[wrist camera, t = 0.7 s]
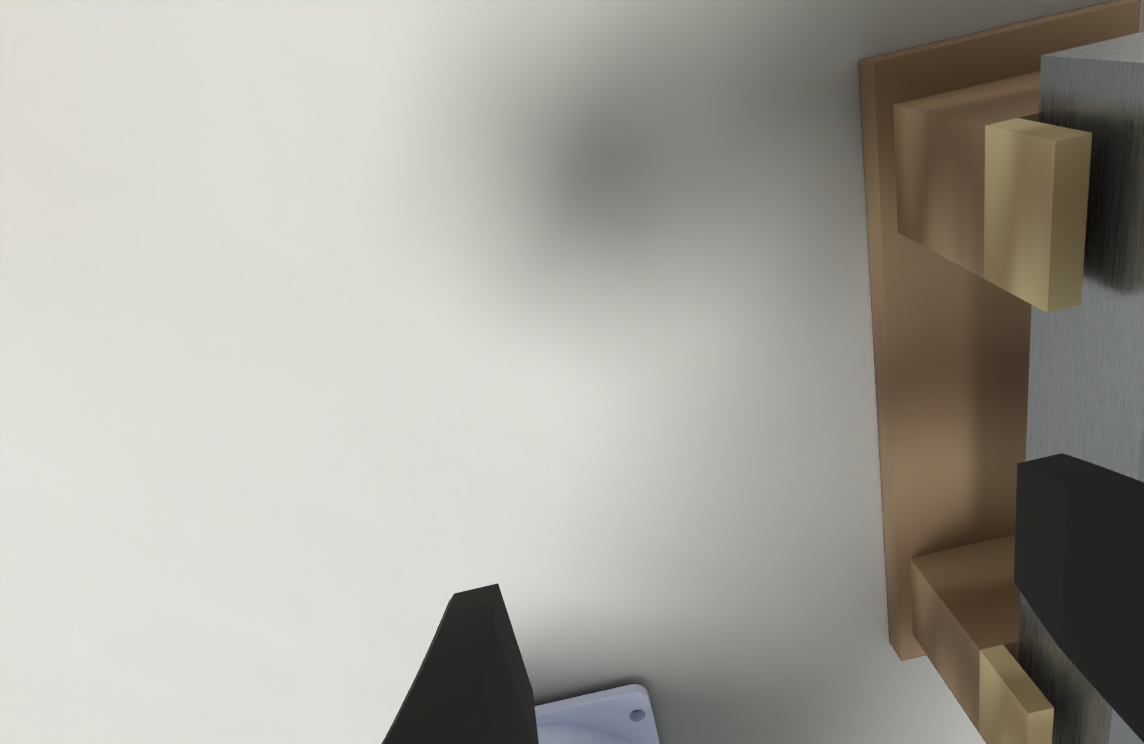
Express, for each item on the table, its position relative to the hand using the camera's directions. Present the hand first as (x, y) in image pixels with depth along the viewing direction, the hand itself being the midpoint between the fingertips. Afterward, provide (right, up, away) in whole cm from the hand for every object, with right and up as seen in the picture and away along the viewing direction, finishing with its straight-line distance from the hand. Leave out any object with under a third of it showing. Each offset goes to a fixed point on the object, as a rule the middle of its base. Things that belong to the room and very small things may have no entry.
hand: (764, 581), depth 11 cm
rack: (+9, +3, +11) cm, 14 cm away
